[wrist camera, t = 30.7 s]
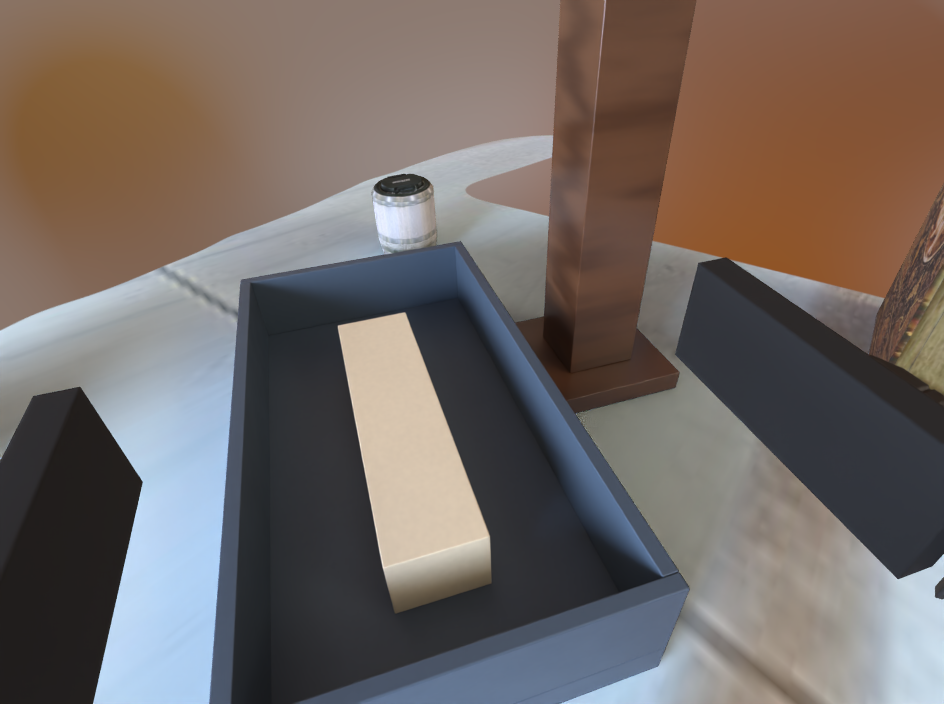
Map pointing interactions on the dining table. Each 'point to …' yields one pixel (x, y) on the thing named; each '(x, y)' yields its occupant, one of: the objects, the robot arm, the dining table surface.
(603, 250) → the stand
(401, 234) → the camera lens
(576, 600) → the bin
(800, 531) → the dining table surface
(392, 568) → the carton
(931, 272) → the book
